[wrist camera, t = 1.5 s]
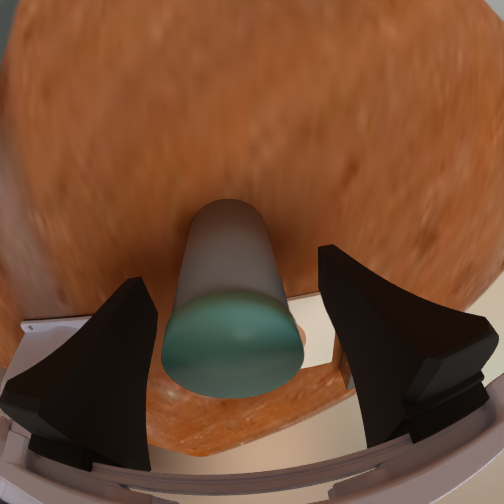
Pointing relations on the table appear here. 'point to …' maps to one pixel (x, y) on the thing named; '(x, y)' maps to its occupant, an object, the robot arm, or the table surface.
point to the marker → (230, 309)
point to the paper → (313, 328)
